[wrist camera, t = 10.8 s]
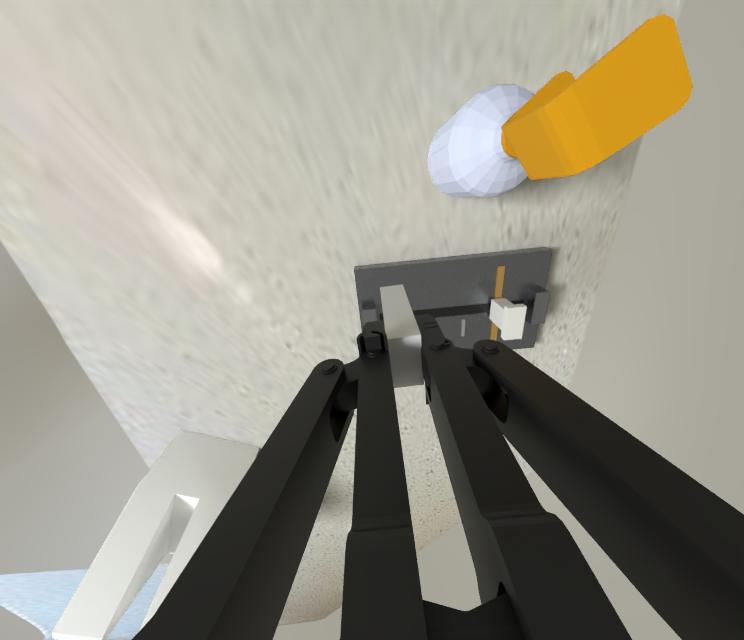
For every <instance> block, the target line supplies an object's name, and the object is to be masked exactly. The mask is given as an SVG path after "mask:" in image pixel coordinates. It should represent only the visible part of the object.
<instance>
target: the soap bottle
mask: <svg viewBox="0 0 744 640" xmlns="http://www.w3.org/2000/svg"><path fill="white" fill-rule="evenodd" d="M692 87H693V85H692V82H691V78H690V75H689V71H688V68H687V64H686V61H685V57H684V54H683V50H682V47H681V43H680V40H679V36H678V33H677V29H676V26H675V22H674V19H673V18H671V17H669V16H667V15H665V14H663V15H660V16H657V17H653V18H651V19H648V20H647V21H646V22H644V23H643V24H642V25H641V26H640V27H638V28H637V29H636V30H635V31H634V32H632V33H631V34H630V35H629V36H628V37H626V38H625V39H624V40H623V41H622V42H620V43H619V44H618V45H617V46H616V47H614V48H613V49H612V50H611V51H610V52H608V53H607V54H606V55H605V56H604V57H602V58H601V59H600V60H599V61H598V62H596V63H595V64H594V65H593V66H592V67H590V68H589V69H588V70H587V71H586V72H584V73H583V74H582V75H581V76H580V77H578V78H577V79H576V80H575V79H574V76H573V74H572V73H569V72H567V71H565V72H561V73H559V74H557V75H555V76H554V77H553V78H552V79H551V80H550V81H549V82H548V83H547V84H546V85H545V86H544V87H542V88H541V89H540V90H539V91H538V92H537V93H536V94H535V95H534V94H533V92H531V91H529V90H527V89H525V88H523V87H520V86H518V85H515V84H502V85H494V86H491V87H489V88H487V89H485V90H483V91H481V92H479V93H477V94H476V95H475V96H474V97H473V98H472V99H471V100H470V101H468V102H467V103H466V104H465V105H464V106H463V107H462V108H461V109H460V110H459V111H458V112H457V113H455V114H454V115H453V116H452V117H451V118H450V119H449V120H448V121H447V122H446V123H445V124H444V125H443V126H442V127H441V128H440V129H439V130H438V131H437V133H436V135H435V137H434V139H433V141H432V142H431V144H430V149H429V155H428V168H429V174H430V176H431V178H432V180H433V183H434V185H435V186H436V187H437V188H438V189H439V190H441V191H442V192H443V193H445V194H447V195H450V196H453V197H497V196H499V195H501V194H504V193H506V192H509V191H511V190H513V189H514V188H515V187H516V186H517V185H519V184H520V183H521V182H522V181H523V180H524V179H526V178H527V177H529V179H531V180H536V179H546V178H556V177H566V176H571V175H575V174H578V173H580V172H583V171H585V170H587V169H589V168H591V167H593V166H594V165H596V164H598V163H600V162H601V161H603V160H605V159H606V158H608V157H609V156H611V155H612V154H614V153H615V152H617V151H618V150H620V149H621V148H623V147H624V146H626V145H628V144H629V143H631V142H632V141H634V140H635V139H637V138H638V137H640V136H641V135H643V134H644V133H646V132H647V131H649V130H650V129H652V128H653V127H655V126H656V125H658V124H659V123H661V122H662V121H664V120H665V119H667V118H668V117H670V116H671V115H673V114H674V113H676V112H677V111H679V110H680V109H681V108H682V107H683V106H684V104H685V103H686V102H687V101H688V100H689V98H690V94H691V91H692Z"/></svg>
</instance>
